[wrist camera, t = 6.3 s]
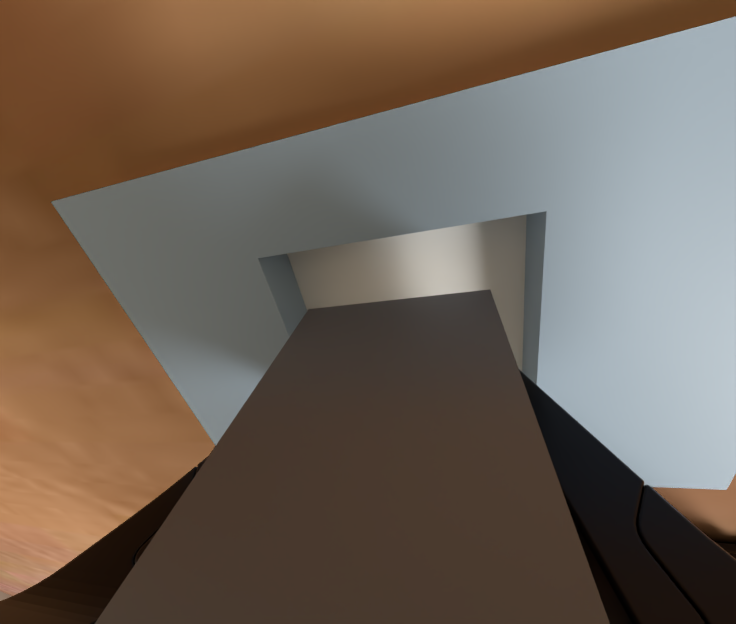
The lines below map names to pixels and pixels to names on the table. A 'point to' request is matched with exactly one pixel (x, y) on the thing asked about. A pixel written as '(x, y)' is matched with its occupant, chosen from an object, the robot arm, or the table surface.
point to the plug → (374, 487)
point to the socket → (473, 243)
